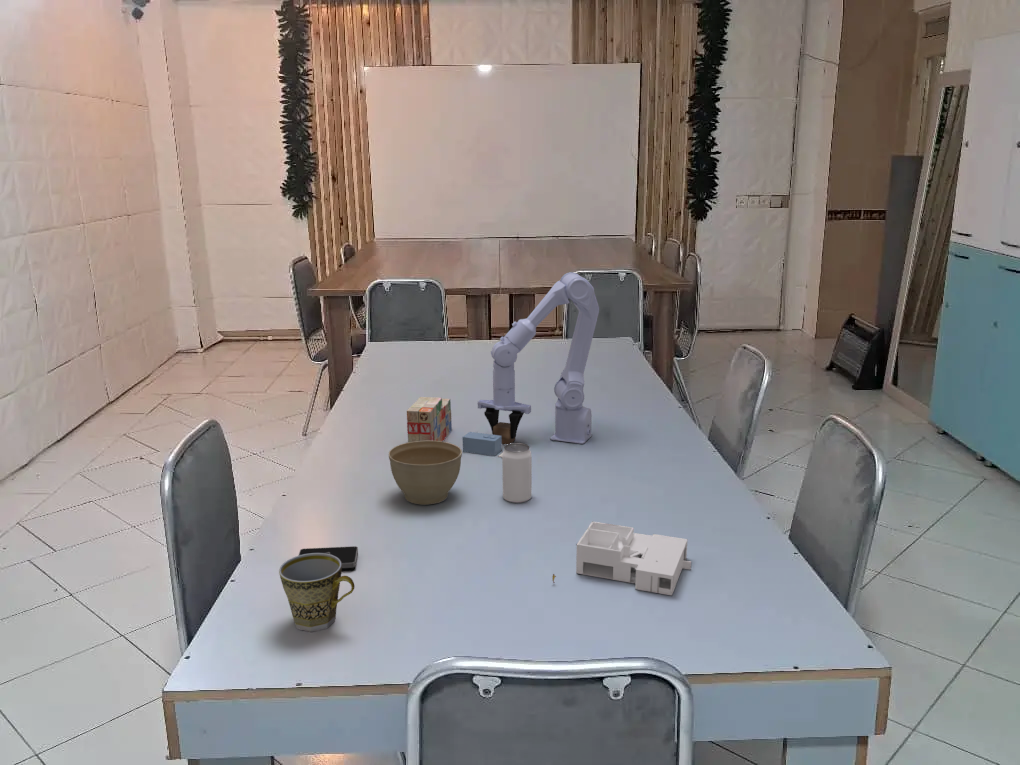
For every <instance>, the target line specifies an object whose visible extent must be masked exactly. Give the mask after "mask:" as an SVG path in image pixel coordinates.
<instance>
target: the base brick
mask: <svg viewBox="0 0 1020 765" xmlns="http://www.w3.org/2000/svg"><path fill="white" fill-rule="evenodd" d="M502 445H503V444H502V436H499V435H493V434H492V433H482V432H476V431H475V432H474V431H468V432H467V433H466V434H465V435H463V436H462V453H469V454H470V453H471V454H476V453H477V454H479V455H484V456H491V457H496V456H497V455H498V454H499V453H500V452H502V451H501V450H502V449H503V448H502Z"/></svg>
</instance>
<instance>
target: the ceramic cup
mask: <svg viewBox="0 0 1020 765" xmlns="http://www.w3.org/2000/svg"><path fill="white" fill-rule="evenodd" d="M298 555H299V554H298ZM298 555H297V556H294V557H291V558H289V559H288V560H285V562H284V563H282V564H281V566H280V567H279V570H278V574H279V578H280V581H281V585H282V587H283V590H284V593H285V595H286V597H287V601H288V604H289V608H290V611H291V616H292V620H293V622H294V625H295V627H296V629H297V630H301V631H306V632H308V633H309V632H310V633H312V632H317V631H321V630H326V629H328V628H330V627H331V626H332V625H333V624H334V622H336V618H337V616H336V615H337V608H338V604H339V603H340V602H341V601H342V600H344V598H346V597H347V596H349V595H351V594H352V593H353V592H354V590H355V588H356V587H355V582H354V580H353V579H352V578H351V577H350V576H348V575H342V572H343V571H342V562H341V560H340V559H339V558H337V557H336V556H333V555H331V554H326V553H309V554H303V555H299V556H298ZM341 582H347V583H349V584H350V587H351V589H350V590H349V591H348V592H346V593H344V594H343V595H341V596H340V598H339V593H340V592H339V591H340V587H341Z"/></svg>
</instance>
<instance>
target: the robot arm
mask: <svg viewBox="0 0 1020 765" xmlns="http://www.w3.org/2000/svg"><path fill="white" fill-rule="evenodd" d="M570 300H571V301H572V303H573V305H574V306H575V307H576V309H577V311H578V314H577V317H576V318H577V319H576V323H575V326H574V329H573V335H572V338H571V343H570V346H569V351H568V354H567V357H566V358H567V359H566V362H565V367H564V369H563V370H562V371H561V373H560V377H559V379H557V381H556V383H555V384H554V388H553V390H554V395H555V396H556V397H557V400H556V402H555V403H554V404H555V412H554V414H555V416H554V417H555V418H554V419H555V420H554V421H555V422H554V423H555V424H554V425H555V426H554V434H553V435H552V436H550V438H549V440H550V441H558V442H565V443H573V444H580V445H584V444H585V443H586V442H587V441H589V439H590V437H592V435H593V433H592V416H593V415H592V410H591V408H589V407H587V406H586V407H585V406H583V403H584V402H585V393H584V387H585V377H584V375H585V374H584V373H585V369H586V366H587V361H588V357H589V353H590V349H591V345H592V341H593V337H594V334H595V330H596V326H597V321H598V317H599V314H600V305H599V303H598V300H597V296H596V293H595V287H594V286H593V285H592V284H591V283H590V282H589V280H588V279H586V278H585V277H583V276H581V275H580V274H578V273H576V272H574V271H570V272H567V273H565V274H564V275H562V276H561V278H560V280H558V281H556V282H555V283H554V284H553V285H552V287H551V288H550V289H549V291H548V292H547V293H546V294H545V296H544V297H543V298H542V299H541V300H540V301H539V303H538V304H537V305H536V307H535V308H534V309H533V311H532V312H531V313H529V315H528V316H527V318H520V319H518V320H517V321H513V323H511V325H512V327H511V328H510V330H508V332H507V333H506V334H505V335H504V336H503V335H502V336H501V337H500V338H499V341H498V342H495V344H494V345H493V346H492V349H491V351H490V355H491V357H492V359H493V364H492V367H493V368H492V397H493V398H492V399H479V400H478V401H477V409H480V410H481V409H485V410H484V412H483V414H484V416H485V418H486V419H487V421H488V423H489V426H490V429H491V434H492V435H493V427H494V426H495V425H496V424H498V423H499V418H500V417H499V416H500V411H503V412H504V411H505V412H511V413H509V414H508V419H509V423H510V428H511V429H510V436H511V439H514V438H515V439H516V436H517V431H518V429H519V428H518V427H519V425H520V422H521V419H522V418H523V416H524V415H525V414H526V415H529V414H531V412H532V405H531V404H526V403H522V402H519V401H516V383H515V382H516V378H515V377H516V372H515V363H516V361H517V358H518V354H519V353H521V351H522V350H524V348H525V347H526V346H527V345H528V344H529V342H530V341H531V340H532V339H534V337H535V336H536V335H537V334H536V333H537V327H538V326H539V325H540V324H541V323H542V322H543V321H544V320H545V319H546V318H547V317H548V316H549V315H550V314H551V312H553V311H554V310H555V309H556V308H557V307H558V306H562V305H567V304H570Z"/></svg>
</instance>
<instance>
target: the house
mask: <svg viewBox="0 0 1020 765" xmlns="http://www.w3.org/2000/svg"><path fill="white" fill-rule="evenodd" d="M634 528H635V527H632V526H626V525H625V526H624V525H618V524H612V523H611V524H610V523H605V522H598V521H594V520H593V521H591V522H590V524H589V526H588V527H587V529H586V530H585V531H584V533H583V534H582V535H581V537H580V539H579V540H578V542H577V544H576V557H575V558H576V561H575V564H576V566H575V567H576V568H575V570H576V571H575V574H580V575H584V576H591V577H596V578H602V579H608V580H614V581H618V582H624V583H630V584H635V590H637V591H638V590H639V591H643V592H644V591H645V592H649V593H657V594H662V595H668V596H673V593H674V592H675V589H676V586H677V584H678V581H679V579H680V576H681V574H682V573H681V572H682V570H691V569H692V561H689V560H687V556H688V538H687V539H686V538H681V537H675V536H668V535H663V534H656V533H653V534H652V535H649V534H643V533H636V532H635V529H634ZM556 577H557V576H556V575H555V573H553V574H552V576H551V578H552V580H551V581H552V584H555V578H556Z"/></svg>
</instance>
